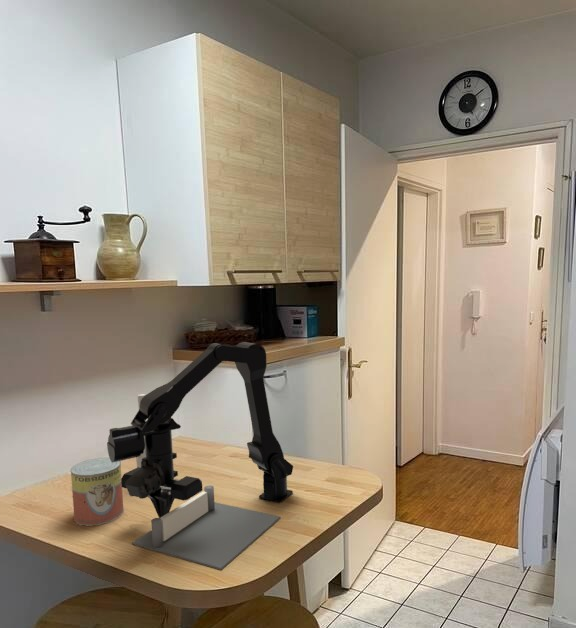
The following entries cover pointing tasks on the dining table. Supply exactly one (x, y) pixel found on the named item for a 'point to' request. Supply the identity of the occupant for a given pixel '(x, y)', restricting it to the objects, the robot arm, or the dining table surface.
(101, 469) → the canned food
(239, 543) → the plate with peg
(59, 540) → the dining table surface
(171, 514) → the gate
